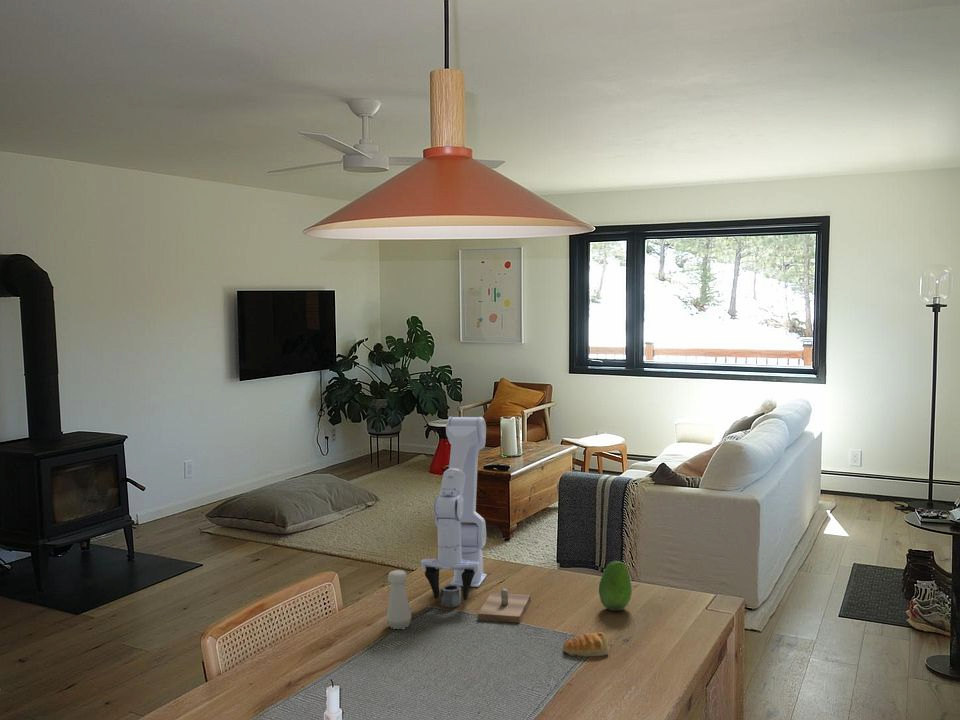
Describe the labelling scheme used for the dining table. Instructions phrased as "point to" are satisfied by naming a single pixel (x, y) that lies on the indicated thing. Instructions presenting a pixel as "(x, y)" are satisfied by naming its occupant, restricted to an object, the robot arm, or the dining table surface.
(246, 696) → the dining table surface
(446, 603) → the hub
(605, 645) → the pastry
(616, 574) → the avocado
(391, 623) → the salt shaker
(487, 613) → the shaft block
